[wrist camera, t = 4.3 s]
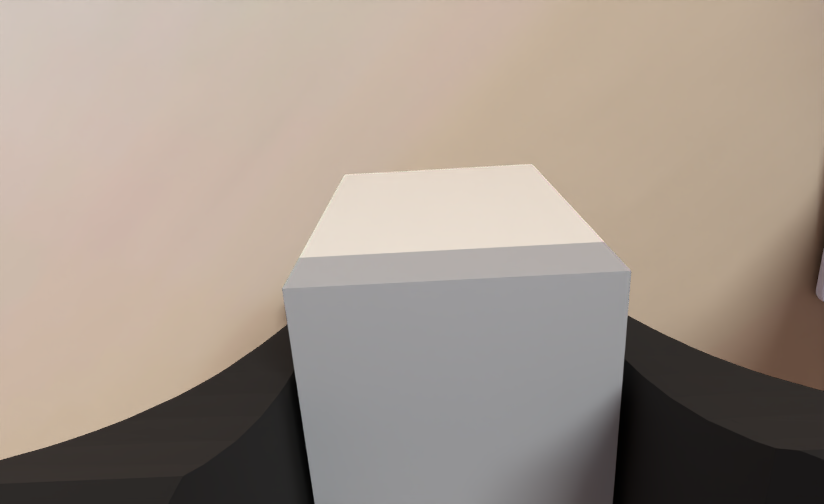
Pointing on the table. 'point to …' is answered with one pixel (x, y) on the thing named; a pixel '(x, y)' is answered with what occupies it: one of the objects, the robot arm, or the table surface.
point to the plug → (458, 342)
